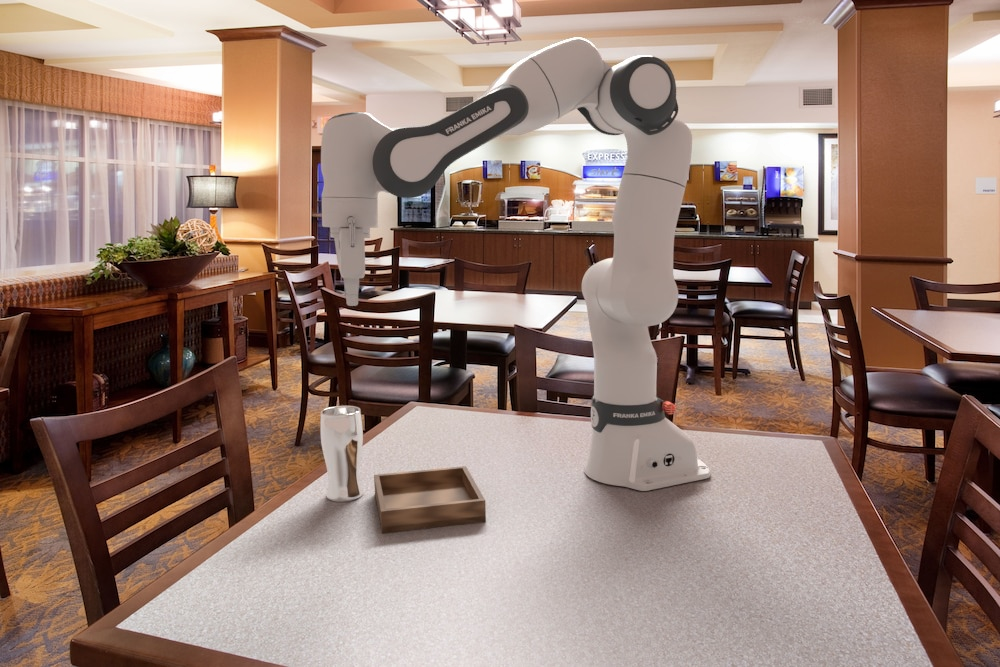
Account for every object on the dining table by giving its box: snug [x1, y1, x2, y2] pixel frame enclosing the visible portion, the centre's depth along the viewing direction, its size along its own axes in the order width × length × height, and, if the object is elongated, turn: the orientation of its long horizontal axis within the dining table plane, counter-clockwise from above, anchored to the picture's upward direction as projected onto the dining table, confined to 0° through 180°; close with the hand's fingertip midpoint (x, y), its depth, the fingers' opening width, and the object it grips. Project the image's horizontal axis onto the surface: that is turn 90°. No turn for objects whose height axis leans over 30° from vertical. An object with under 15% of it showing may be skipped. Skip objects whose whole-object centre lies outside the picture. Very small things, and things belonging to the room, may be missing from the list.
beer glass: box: [320, 405, 364, 503], centre depth 123 cm, size 7×7×15 cm
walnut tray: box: [373, 465, 487, 534], centre depth 118 cm, size 16×16×4 cm
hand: (351, 301), depth 119 cm, fingers open, 8 cm apart
